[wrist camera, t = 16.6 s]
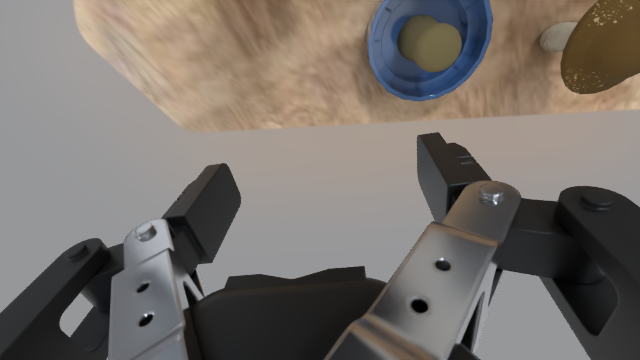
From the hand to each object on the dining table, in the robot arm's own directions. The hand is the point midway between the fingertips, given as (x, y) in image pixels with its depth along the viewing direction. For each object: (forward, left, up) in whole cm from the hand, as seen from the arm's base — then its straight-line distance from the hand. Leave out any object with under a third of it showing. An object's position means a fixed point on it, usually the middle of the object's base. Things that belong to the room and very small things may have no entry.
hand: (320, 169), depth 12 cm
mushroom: (+4, +30, -36) cm, 47 cm away
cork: (+1, +12, -36) cm, 38 cm away
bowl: (+1, +12, -36) cm, 38 cm away
